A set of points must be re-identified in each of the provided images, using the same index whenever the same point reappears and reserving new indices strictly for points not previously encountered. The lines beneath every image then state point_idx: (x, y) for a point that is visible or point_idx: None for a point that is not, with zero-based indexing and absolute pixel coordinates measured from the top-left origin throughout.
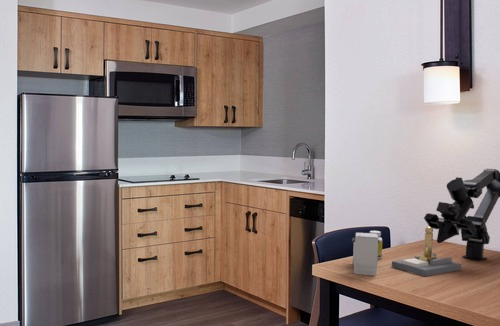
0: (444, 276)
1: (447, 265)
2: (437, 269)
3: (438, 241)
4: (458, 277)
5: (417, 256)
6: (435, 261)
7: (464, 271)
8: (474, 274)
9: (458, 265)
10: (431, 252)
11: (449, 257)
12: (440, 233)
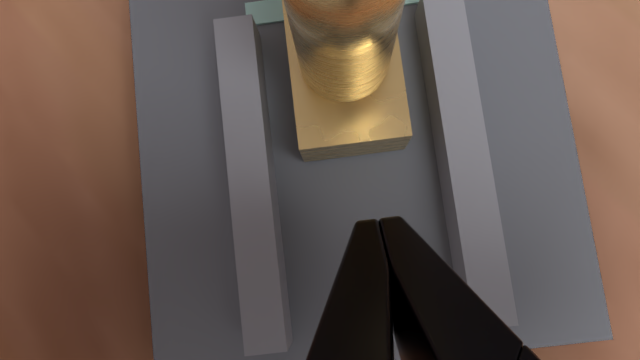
0: (76, 37)
1: (170, 187)
2: (134, 12)
3: (360, 223)
4: (4, 126)
5: (441, 3)
6: (219, 63)
7: (122, 357)
8: (8, 356)
9: (157, 339)
10: (296, 50)
11: (270, 345)
12: (428, 338)
